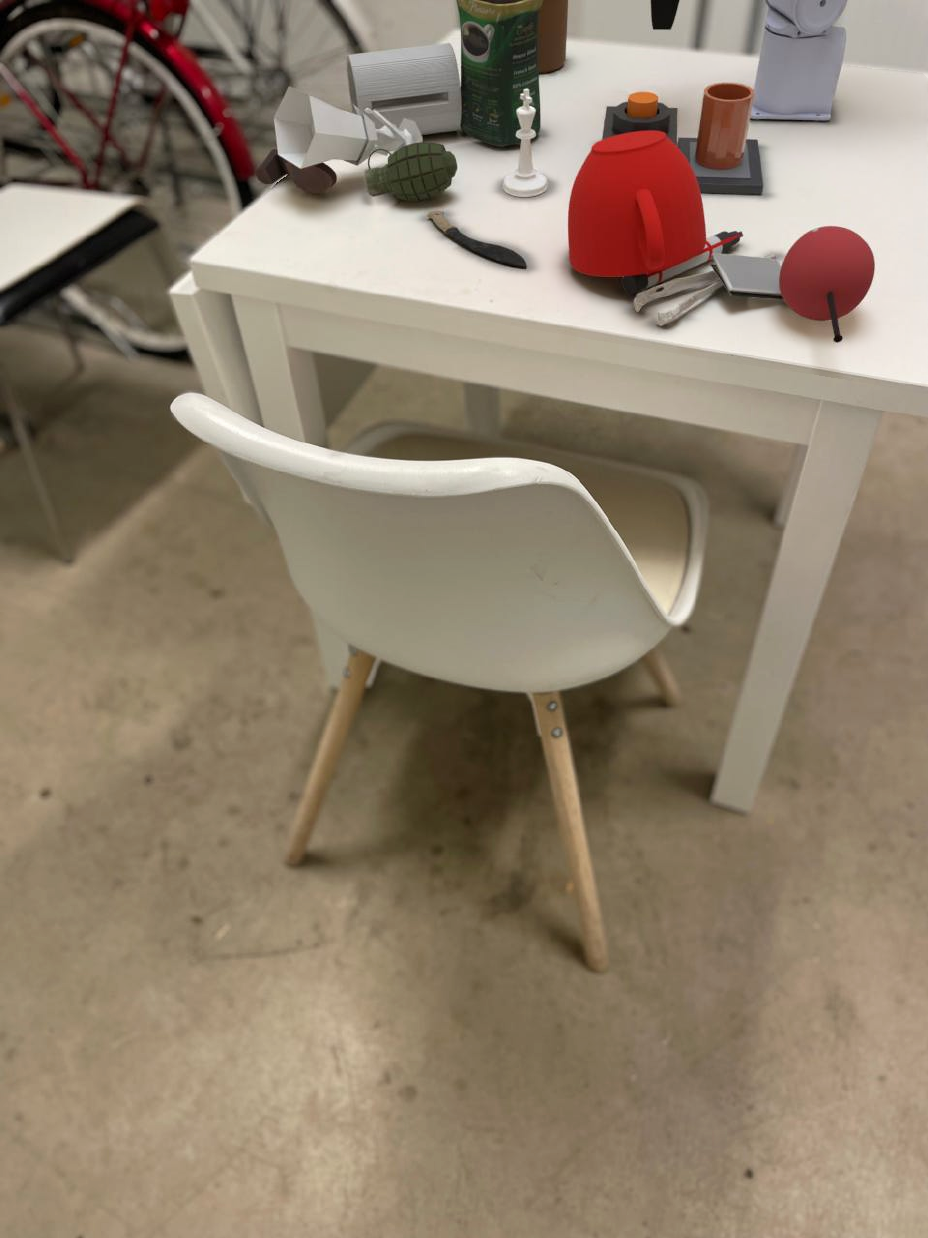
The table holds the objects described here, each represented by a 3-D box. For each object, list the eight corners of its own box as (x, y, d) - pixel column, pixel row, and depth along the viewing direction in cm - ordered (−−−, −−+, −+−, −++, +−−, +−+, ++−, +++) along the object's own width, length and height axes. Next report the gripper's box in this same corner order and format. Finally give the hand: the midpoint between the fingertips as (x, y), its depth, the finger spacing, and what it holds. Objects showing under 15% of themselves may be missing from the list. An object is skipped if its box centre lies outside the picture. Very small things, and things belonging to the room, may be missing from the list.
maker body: (672, 145, 111) (679, 90, 106) (671, 191, 103) (679, 133, 98) (603, 143, 112) (607, 88, 107) (597, 189, 104) (601, 132, 99)
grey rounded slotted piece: (349, 106, 117) (444, 94, 119) (362, 159, 114) (460, 146, 115) (344, 36, 109) (445, 24, 110) (358, 91, 106) (462, 78, 107)
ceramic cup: (731, 147, 76) (733, 271, 82) (684, 112, 90) (688, 220, 96) (572, 181, 77) (585, 301, 83) (549, 141, 91) (562, 246, 97)
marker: (638, 281, 87) (624, 269, 88) (633, 298, 89) (619, 286, 90) (753, 230, 93) (739, 219, 94) (746, 247, 95) (732, 236, 95)
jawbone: (665, 330, 85) (669, 309, 83) (628, 308, 87) (632, 288, 86) (791, 278, 92) (796, 258, 91) (753, 259, 95) (759, 239, 93)
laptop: (717, 242, 87) (707, 260, 88) (737, 282, 84) (727, 301, 86) (783, 249, 89) (772, 266, 91) (805, 288, 86) (794, 306, 88)
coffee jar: (551, 135, 114) (557, -49, 100) (503, 155, 111) (503, -33, 97) (497, 113, 119) (495, -65, 105) (449, 132, 116) (441, -50, 102)
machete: (536, 266, 94) (536, 259, 93) (513, 276, 92) (513, 269, 92) (440, 213, 102) (440, 206, 101) (417, 221, 100) (417, 214, 100)
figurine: (271, 94, 100) (401, 120, 112) (279, 176, 102) (406, 193, 114) (310, 74, 95) (441, 104, 107) (317, 161, 97) (446, 181, 109)
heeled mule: (319, 157, 101) (339, 139, 102) (244, 155, 106) (264, 138, 108) (333, 197, 104) (352, 179, 106) (259, 193, 109) (279, 176, 111)
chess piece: (516, 200, 103) (517, 102, 95) (495, 183, 106) (493, 86, 98) (555, 190, 104) (559, 91, 97) (533, 173, 107) (535, 76, 100)
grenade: (458, 134, 104) (373, 156, 107) (444, 120, 98) (353, 143, 100) (469, 196, 106) (384, 216, 108) (455, 186, 99) (366, 207, 101)
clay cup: (741, 150, 107) (753, 82, 101) (743, 170, 103) (755, 101, 98) (694, 148, 107) (703, 81, 102) (694, 168, 104) (704, 100, 99)
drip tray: (756, 147, 109) (758, 138, 109) (761, 194, 102) (763, 184, 101) (677, 145, 111) (678, 135, 110) (676, 191, 103) (677, 181, 102)
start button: (656, 108, 104) (658, 91, 103) (656, 120, 102) (658, 102, 101) (627, 108, 104) (628, 90, 103) (626, 119, 102) (627, 102, 101)
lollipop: (769, 362, 78) (762, 280, 88) (856, 391, 78) (839, 305, 88) (817, 278, 72) (804, 200, 83) (911, 309, 73) (885, 228, 83)
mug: (506, 87, 125) (505, 4, 118) (472, 71, 129) (470, -10, 122) (577, 65, 129) (580, -16, 122) (542, 50, 133) (544, -29, 126)
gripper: (639, -138, 102) (628, 6, 113) (636, -105, 93) (624, 49, 103) (706, -139, 101) (688, 6, 112) (709, -106, 92) (690, 50, 102)
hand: (661, 27), depth 107 cm, fingers closed
